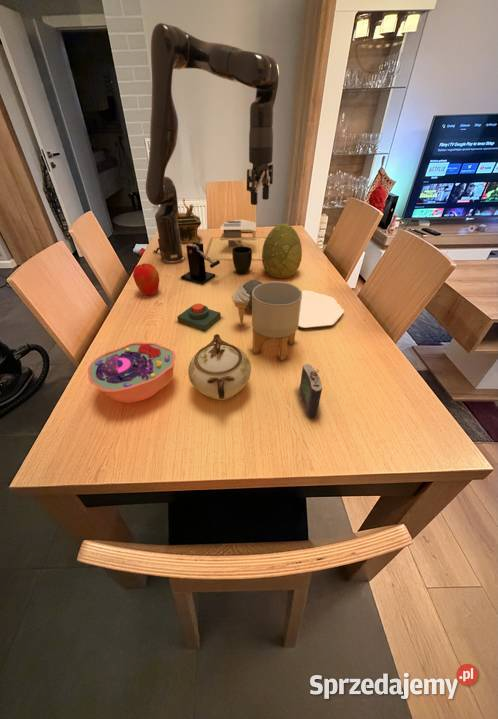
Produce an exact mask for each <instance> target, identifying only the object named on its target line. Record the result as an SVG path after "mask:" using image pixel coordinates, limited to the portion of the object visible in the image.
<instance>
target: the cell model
mask: <svg viewBox="0 0 498 719" xmlns="http://www.w3.org/2000/svg"><path fill="white" fill-rule="evenodd" d="M175 360H176V352H174V350H172V349H170V348H168V347H166V346H164V345H160V344H158V343H155V342H144V341H143V342H141V341H140V342H139V341H137V342H131V343H127V344H126V345H124V346H123V345H122V346H121V347H119V348H116V349H113V350H110V351H107V352H105V353H103V354H101V355H100V356H98V357H96V358H95V359H94V360H93V361H92V362H91V363H90V365H89V366H88V368H87V378H88V381H89V383H90V384H92V385H94V386H95V387H96V388H97V389H98V390H100V391H101V392H102V393H103V394H105V395H106V396H108V397H110V398H111V399H112V400H114V401H117V402H123V403H128V404H129V403H130V404H131V403H136V402H140V401H143V400H146V399H147V400H148V399H149V398H151V397H153V396H154V395H155V394H156V393H158V392H160V391H161V390H162V389H163V388H164V387H166V386H167V385H168V384H169V383H170V382H171V381H172V380H173V377H174V369H175Z"/></svg>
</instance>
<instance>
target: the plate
mask: <svg viewBox="0 0 498 719" xmlns="http://www.w3.org/2000/svg"><path fill="white" fill-rule="evenodd" d="M301 292H302V300H301V308H300V316H299V324H298V328H301V329H313V328H323V327H331V326H333V325H335V324H336V322H337V321H339V319H340V318H341V317H342V316H343V315H344V313H345V310H344V309H343V308H342V306H341V305H340V304H339V303H338V302H337V300H336V299H335V298H334V297H333V296H329V295H326V294H322V293H319V292H315V291H312V290H301Z"/></svg>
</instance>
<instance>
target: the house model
mask: <svg viewBox="0 0 498 719" xmlns="http://www.w3.org/2000/svg"><path fill="white" fill-rule="evenodd" d="M219 230H220V231H221V230H223V233H222V234H221V236H220V237H212V238H211V241H210V245H209V248H208V251H207V254H206V255H207V256H208V257H209V258H211V259H212V260H233V257H232V249H233V248H235V247H239V246H240V245H243V246H245V247H250V248H251V249H252V260H262V250H263V245H264V242H265V240H266V238H267V237H260V238H259V237H257V231H256V230H257V222H255V221H251V220H246V219H240V218H239V219H233V220H227V221H224V222H223V223H222V225H221V226H220V228H219ZM242 234H252V237H242Z"/></svg>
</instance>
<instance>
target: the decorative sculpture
mask: <svg viewBox="0 0 498 719" xmlns="http://www.w3.org/2000/svg"><path fill="white" fill-rule="evenodd" d="M265 238H266V240H265V242H264V245H263V250H262V259H261V260H262V266H263V268H264V270H265V272H266V274H267V275H269V277H272V278H276V279H288V278H290V277H292V276H294V275H295V274H296V272H297V271H298V269H299V267H300V265H301V262H302V258H303V247H302V242H301V239H300V236H299V235H298V233H297V231H296V230H295V229H294V227H293V226H292V225H290V224H288V223H280V224H279V223H278V224H277V225H275V226H274V227H273V228H272V229H271V230H270V231H269V233H268V235H267V236H266V237H265Z"/></svg>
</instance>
